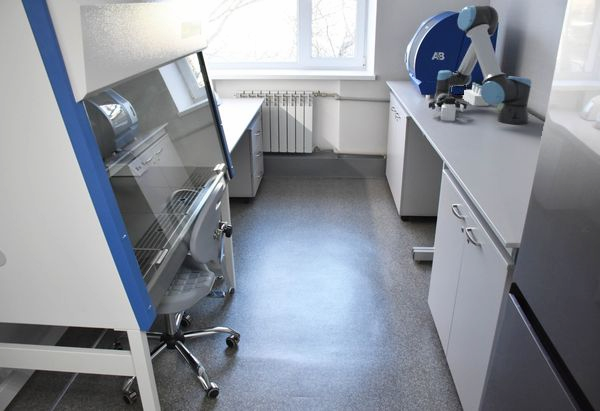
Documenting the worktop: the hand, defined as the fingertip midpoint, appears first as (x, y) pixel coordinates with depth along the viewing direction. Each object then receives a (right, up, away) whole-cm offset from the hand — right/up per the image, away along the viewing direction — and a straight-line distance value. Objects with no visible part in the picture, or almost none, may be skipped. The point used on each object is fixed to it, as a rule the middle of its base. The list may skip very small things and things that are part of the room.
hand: (449, 108), depth 261 cm
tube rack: (+31, +14, +49) cm, 59 cm away
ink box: (+40, +4, +27) cm, 49 cm away
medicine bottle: (0, -5, +6) cm, 7 cm away
